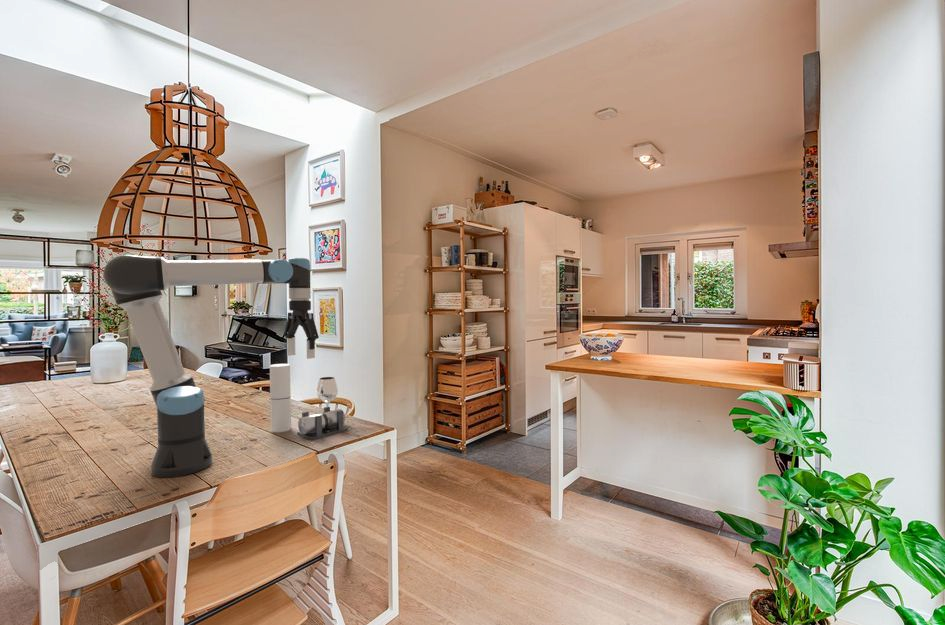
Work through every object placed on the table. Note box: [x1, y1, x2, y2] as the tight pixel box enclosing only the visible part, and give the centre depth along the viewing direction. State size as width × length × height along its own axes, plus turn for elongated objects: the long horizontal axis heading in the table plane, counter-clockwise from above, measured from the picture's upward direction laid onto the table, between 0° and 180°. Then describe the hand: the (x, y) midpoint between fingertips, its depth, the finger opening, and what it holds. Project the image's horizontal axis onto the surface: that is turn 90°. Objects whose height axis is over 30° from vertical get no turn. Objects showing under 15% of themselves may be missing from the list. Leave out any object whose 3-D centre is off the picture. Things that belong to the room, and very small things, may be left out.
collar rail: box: [297, 406, 349, 441], centre depth 162 cm, size 15×10×8 cm, turn 141°
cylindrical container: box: [269, 363, 292, 433], centre depth 166 cm, size 7×7×25 cm
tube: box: [297, 408, 346, 434], centre depth 163 cm, size 16×6×6 cm, turn 141°
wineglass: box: [316, 376, 338, 407], centre depth 176 cm, size 8×8×18 cm
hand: (300, 356), depth 161 cm, fingers open, 13 cm apart
